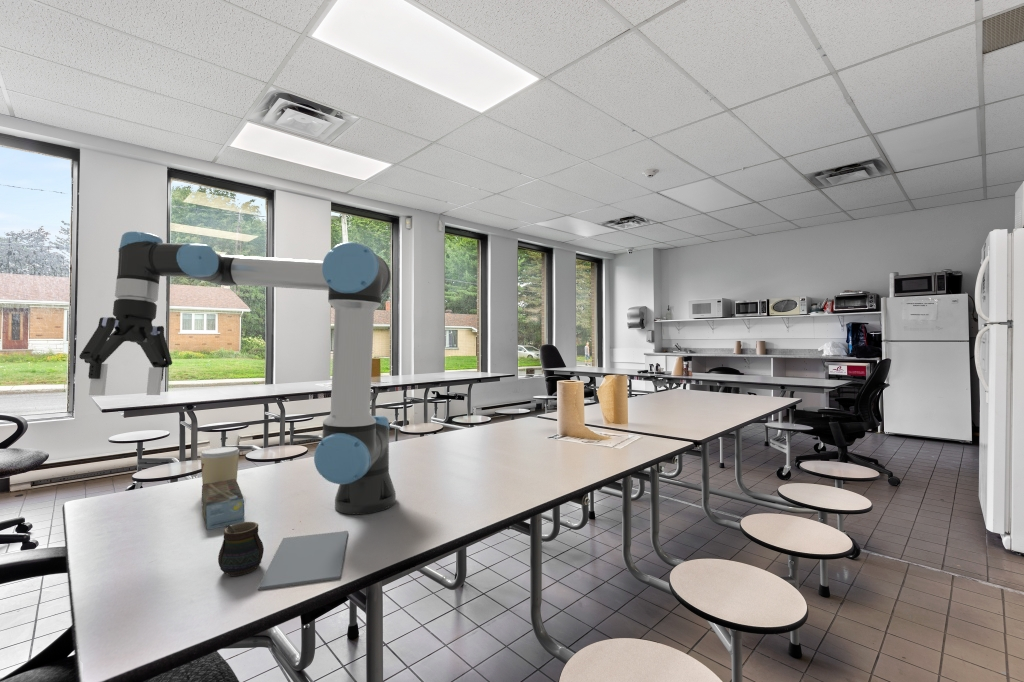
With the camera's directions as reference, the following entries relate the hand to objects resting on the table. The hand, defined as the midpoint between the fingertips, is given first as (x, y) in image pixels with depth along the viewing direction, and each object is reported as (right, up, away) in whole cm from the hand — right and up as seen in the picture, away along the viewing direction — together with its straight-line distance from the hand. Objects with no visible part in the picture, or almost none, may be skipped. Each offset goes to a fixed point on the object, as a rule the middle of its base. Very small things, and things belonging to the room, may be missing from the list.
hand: (126, 395), depth 100 cm
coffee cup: (+3, -31, +28) cm, 42 cm away
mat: (+46, -30, -12) cm, 56 cm away
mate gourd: (+35, -31, -17) cm, 50 cm away
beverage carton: (+14, -31, +11) cm, 36 cm away
